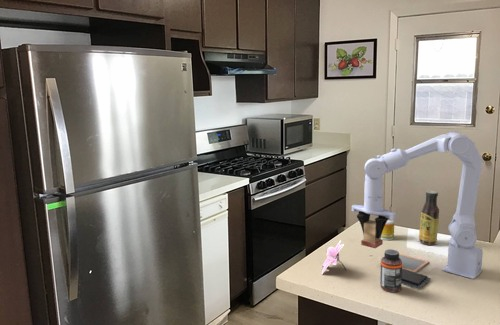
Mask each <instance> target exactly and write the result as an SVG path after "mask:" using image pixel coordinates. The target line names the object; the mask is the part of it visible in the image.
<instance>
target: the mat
mask: <svg viewBox="0 0 500 325" xmlns="http://www.w3.org/2000/svg"><path fill="white" fill-rule="evenodd" d="M399 258H400V259H401V260H402V269H405V270H408V271H412V272H415V273H418V272H419V271H420V270H422V269H423V268H424V267H426V265H428V264H429V263H430V261H429V260H425V259H422V258H418V257H414V256H410V255H407V254H404V253H403V254H402V253H401V252H399Z"/></svg>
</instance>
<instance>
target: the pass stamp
mask: <svg viewBox="0 0 500 325" xmlns="http://www.w3.org/2000/svg"><path fill="white" fill-rule="evenodd" d="M360 242H361V244H360V245H361V246H364V247H367V248H371V249H377V248H378V247H381V245H383V243H384V240H383V239H381V237H380V238H379V239H378V238H376V222H375V220H371V219H369V221H367V222H365V223H364V235H363V239H362V240H360Z"/></svg>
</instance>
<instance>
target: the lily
mask: <svg viewBox="0 0 500 325" xmlns="http://www.w3.org/2000/svg"><path fill="white" fill-rule="evenodd" d="M341 242H342V240H341V239H340V240H339V242H338V243H337V244H336V246H335V247H334V246H329V247H327V249H326V259H325V261H324V262H323V263H322V271H321V275H323V274H324V273H325V271H326V270H327V268H328V266H330V265H334V266H336V265H337V263H338V262H339V263H340V264H341V265H342V267H343V268H344V270H345V271H346V270H347V268H346V267H345V265H344V263H343V262H342V261H341V260H340V255H339V252H340V251H341V249H342V248H343V247H344V245H345V244H344V243H342V244H341Z"/></svg>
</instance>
